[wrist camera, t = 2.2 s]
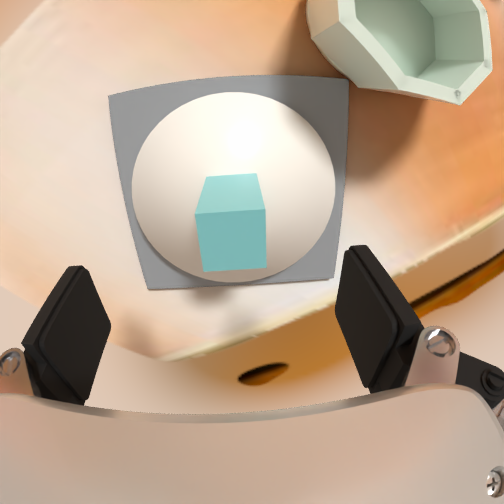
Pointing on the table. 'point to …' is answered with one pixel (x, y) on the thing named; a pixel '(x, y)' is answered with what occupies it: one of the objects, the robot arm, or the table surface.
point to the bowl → (405, 44)
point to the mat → (271, 86)
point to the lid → (233, 187)
